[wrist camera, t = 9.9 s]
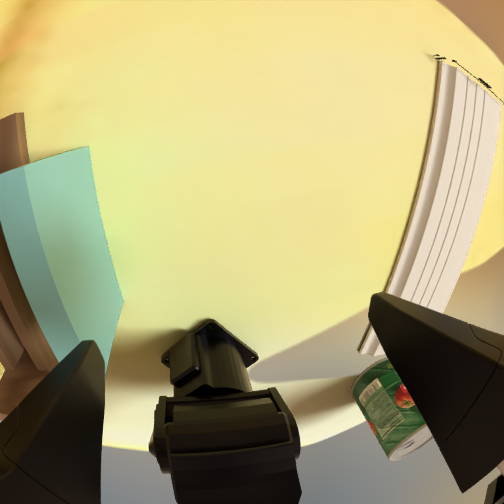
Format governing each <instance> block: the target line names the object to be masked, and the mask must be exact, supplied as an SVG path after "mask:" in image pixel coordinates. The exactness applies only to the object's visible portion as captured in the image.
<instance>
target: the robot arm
mask: <svg viewBox="0 0 504 504" xmlns="http://www.w3.org/2000/svg"><path fill="white" fill-rule="evenodd" d="M368 318H369V321H370V323H371V325H372V327H373V329H374V331H375V334H376V336H377V338H378V340H379V342H380V344H381V346H382V348H383V350H384V352H385V354H386V356H387V358H388V359H389V361H390V363H391V364H392V366H393V368H394V369H395V371H396V373H397V374H398V376H399V378H400V379H401V381H402V383H403V384H404V386H405V388H406V390H407V391H408V393H409V395H410V396H411V398H412V400H413V402H414V403H415V405H416V407H417V409H418V410H419V412H420V414H421V416H422V418H423V419H424V421H425V423H426V425H427V427H428V428H429V430H430V432H431V434H432V436H433V438H434V439H435V441H436V443H437V445H438V447H440V448H439V449H440V451H441V453H442V455H443V457H444V459H445V461H446V463H447V465H448V467H449V468H450V470H451V472H452V474H453V476H454V478H455V480H456V483H457V485H458V487H459V489H460V491H461V492H462V493H464V492H465V491H467V490H468V489H470V488H471V487H472V486H474V485H475V484H476V483H477V482H479V481H480V480H481V479H482V478H484V477H485V476H486V475H487V474H488V473H490V472H491V471H492V470H493V469H494V468H495V467H497V468H498V469H499V470H500V472H501V474H500V475H499V476H498V477H497V478H496V479H494V480H493V481H492V482H491V483H490V484H489V485H488V488H487V494H486V498H485V502H484V504H504V335H501V334H498V333H495V332H492V331H488V330H486V329H483V328H480V327H477V326H475V325H472V324H468V323H467V322H464V321H461V320H458V319H456V318H453V317H451V316H448V315H445V314H442V313H440V312H437V311H434V310H432V309H429V308H426V307H424V306H421V305H418V304H416V303H413V302H410V301H407V300H405V299H402V298H399V297H397V296H394V295H391V294H388V293H386V292H379V293H375V294H373V295H372V297H371V301H370V307H369V312H368ZM210 325H214V326H212V327H210ZM252 357H253V358H252ZM165 359H168V360H165ZM258 359H259V358H258V354H257V353H256V352H255V351H253V350H252V349H251V348H249V347H248V346H247V345H246V344H244V343H243V342H242V341H241V340H239V339H238V338H237V337H235V336H234V335H233V334H232V333H230V332H229V331H228V330H227V329H225V328H224V327H223V326H222V325H221V324H219V323H218V322H217V321H216V320H213V319H211V320H208V321H206V322H205V323H204V324H203V325H201V326H200V327H199V328H197V329H196V330H195V331H194V332H192V333H189V334H188V335H187V336H185V337H184V338H183V339H181V340H180V341H179V342H177V343H176V344H175V345H174V346H172V347H171V348H170V350H169V351H168V352H166V353H165V354H164V355H162V358H161V362H162V363H163V364H164V365H166V366H167V367H169V368H170V382H171V384H172V385H174V397H167V396H159V403H158V404H157V405H156V410H155V411H154V430H153V433H152V436H151V439H150V442H149V451H150V453H151V454H152V455H154V456H155V457H156V458H157V461H158V463H159V465H160V469H161V471H162V473H164V474H166V473H171V479H172V484H173V489H174V495H175V499H176V502H177V503H178V504H298V503H299V500H300V497H301V494H302V491H301V487H300V482H299V478H298V474H297V468H296V461H295V459H298V457H299V455H300V448H301V447H300V436H299V431H298V427H297V424H296V421H295V419H294V417H293V415H292V413H291V412H290V410H289V409H288V407H287V405H286V404H285V402H284V401H283V399H282V397H281V396H280V394H279V392H278V391H277V389H276V388H275V387H272V388H268V389H266V390H258V391H252V387H251V384H250V380H249V377H248V373H247V369H246V368H248V367H249V366H250V365H252V364H253V363H255V362H256V361H257V360H258ZM104 410H105V361H104V358H103V356H102V354H101V352H100V349H99V347H98V345H97V343H96V342H95V341H94V340H83V341H81V342H80V343H79V344H78V345H77V346H76V347H75V348H74V349H73V350H72V351H71V352H70V353H69V354H68V355H67V356H66V357H65V358H64V359H63V360H61V361H60V362H59V363H58V364H57V365H56V366H55V367H54V368H53V369H52V370H51V371H50V372H49V373H48V374H47V375H46V376H45V377H44V378H43V379H42V380H41V381H40V382H39V383H38V384H37V385H36V386H35V387H34V388H33V389H32V390H31V391H30V393H29V394H28V395H27V396H26V397H25V398H24V399H23V400H22V401H21V402H20V403H19V404H18V406H16V407H15V408H14V409H13V410H12V411H11V412H10V413H9V414H8V415H7V416H6V418H5V419H4V420H3V421H2V422H1V423H0V504H101V451H102V434H103V421H104Z"/></svg>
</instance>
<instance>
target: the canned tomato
mask: <svg viewBox="0 0 504 504" xmlns="http://www.w3.org/2000/svg"><path fill="white" fill-rule="evenodd" d="M351 395H352V396H353V398H354V399H355V401H356V402H357V405H358V406H359V408H360V410H361V411H362V413H363V415H364V416H365V419H366V420H367V422H368V424H369V425H370V427H371V429H372V430H373V432H374V434H375V436H376V438H377V439H378V441H379V443H380V445H381V446H382V448H383V450H384V451H385V453H386V455H387V457H388V459H389V461H396V460H399V459H402V458H404V457H406V456H408V455H410V454H411V453H413V452H415V451H416V450H418V449H420V448H421V447H422V446H424V445H425V444H426V443H428V442H429V441H430V440H431V439H432V438H433V436H432V434H431V432H430V430H429V428H428V427H427V425H426V423H425V421H424V419H423V418H422V416H421V414H420V412H419V410H418V409H417V407H416V405H415V403H414V402H413V400H412V398H411V396H410V395H409V393H408V391H407V390H406V388H405V386H404V384H403V383H402V381H401V379H400V378H399V376H398V374H397V373H396V371H395V369H394V368H393V366H392V364H391V363H390V361H389V359H388V358H384V359H381V360H379V361H377V362H375V363H374V364H372V365H371V366H369V367H368V368H367V369H366V370H364V371H363V372H362V373H361V374H360V375H359V376H358V378H357V379H356V380H355V382H354V383H353V386H352V389H351Z"/></svg>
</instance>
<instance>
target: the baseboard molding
mask: <svg viewBox="0 0 504 504" xmlns="http://www.w3.org/2000/svg"><path fill="white" fill-rule="evenodd" d="M435 56H439V55H437V54H436V55H435ZM436 59H438V58H436ZM439 59H446V58H445V57H441V58H440V57H439ZM452 62H455V63H456V62H457V61H455V60H452ZM457 64H458V63H457ZM458 65H459V64H458ZM459 66H460V65H459ZM461 67H462V66H461ZM462 68H463V67H462ZM463 69H464V68H463ZM465 70H466V69H465ZM466 71H467V70H466ZM467 72H468V71H467ZM468 73H469V72H468ZM470 74H471V73H470ZM471 75H472V74H471ZM472 76H473V75H472ZM473 77H474V76H473ZM475 78H476V77H475ZM476 79H477V78H476ZM478 79H479V80H480V81H481V83H482V84H483V85H484V84H485V85H486V86H487V87H488V86H489V87H488V88H491V87H490V85H488V84H487V83H485V82H484V81H483V80H482V79H481V78H478ZM478 79H477V80H478ZM479 80H478V81H479ZM485 85H484V86H485ZM486 86H485V87H486ZM489 90H490V89H489ZM490 91H491V90H490ZM491 92H492V91H491ZM492 93H493V92H492ZM493 94H494V93H493ZM494 95H495V94H494ZM495 96H496V95H495ZM501 101H502V100H501ZM502 102H503V101H502ZM503 103H504V102H503ZM500 115H501V104H500V103H499V102H498V101H497V100H496V99H495V98H493V97H492V96H491V95H490V94H489V93H488V92H487V91H485V90H484V89H483V88H481V87H480V85H478V84H477V83H475V82H474V81H473V80H472V79H471V78H470V77H468V76H466V75H465V74H464V73H463V72H462V71H461V70H459V69H458V68H456V67H453V66H450V65H448V64H446V63H445V62H443V61H439V72H438V82H437V91H436V99H435V106H434V113H433V119H432V125H431V131H430V137H429V142H428V147H427V152H426V157H425V162H424V166H423V170H422V175H421V179H420V183H419V187H418V191H417V195H416V199H415V202H414V206H413V210H412V213H411V217H410V220H409V223H408V227H407V230H406V233H405V236H404V240H403V243H402V246H401V249H400V252H399V255H398V258H397V260H396V263H395V266H394V269H393V272H392V274H391V277H390V280H389V283H388V285H387V288H386V290H385V292H386V293H388V294H391V295H394V296H397V297H399V298H402V299H405V300H407V301H410V302H413V303H416V304H418V305H421V306H424V307H426V308H429V309H432V310H434V311H437V312H440V313H442V314H443V311H444V309H445V307H446V305H447V303H448V301H449V299H450V296H451V294H452V292H453V290H454V287H455V285H456V282H457V280H458V278H459V275H460V273H461V270H462V268H463V265H464V263H465V260H466V257H467V255H468V252H469V249H470V246H471V243H472V240H473V237H474V234H475V231H476V228H477V225H478V222H479V219H480V215H481V212H482V208H483V205H484V201H485V197H486V193H487V189H488V185H489V181H490V176H491V172H492V167H493V162H494V156H495V151H496V145H497V138H498V131H499V124H500ZM357 351H358V352H359V353H360V354H369V355H371V356H378V355H382V354H385V352H384V350H383V348H382V346H381V344H380V342H379V340H378V338H377V336H376V334H375V331H374V329H373V327H372V325H371V323H370V321H369V323H368V325H367V328H366V330H365V332H364V334H363V337H362V339H361V341H360V344H359V346H358V348H357Z"/></svg>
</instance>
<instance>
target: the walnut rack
mask: <svg viewBox="0 0 504 504" xmlns="http://www.w3.org/2000/svg"><path fill="white" fill-rule="evenodd" d="M26 164H29V156H28V149H27V141H26V132H25V122H24V113H14V114H12V115H10V116H7V117H5V118H3V119H1V120H0V174H2V173H4V172H7V171H9V170H12V169H15V168H18V167H20V166H23V165H26ZM0 362H1V363H2V365H3V366H4V368H5V372H4V374H3V376H2V378H1V380H0V420H4V419H5V418H6V416H7V415H8V414H9V413H10V412H11V411H12V410H13V409H14V408H15V407H16V406H18V404H19V403H20V402H21V401H22V400H23V399H24V398H25V397H26V396H27V395H28V394H29V393H30V391H31V390H32V389H33V388H34V387H35V386H36V385H37V384H38V383H39V382H40V381H41V380H42V379H43V378H44V377H45V376H46V375H47V374H48V373H49V372H50V371H51V370H52V369H53V368H54V367H55V366H56V365H57V364H58V363H59V362H58V360H57V358H56V356H55V354H54V353H53V351H52V349H51V347H50V345H49V343H48V341H47V340H46V338H45V336H44V334H43V332H42V330H41V328H40V326H39V324H38V321H37V319H36V317H35V315H34V313H33V311H32V308H31V306H30V304H29V302H28V299H27V297H26V295H25V292H24V290H23V287H22V285H21V282H20V280H19V277H18V274H17V272H16V269H15V266H14V263H13V260H12V258H11V255H10V252H9V248H8V245H7V242H6V239H5V235H4V232H3V229H2V225H1V221H0Z"/></svg>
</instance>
